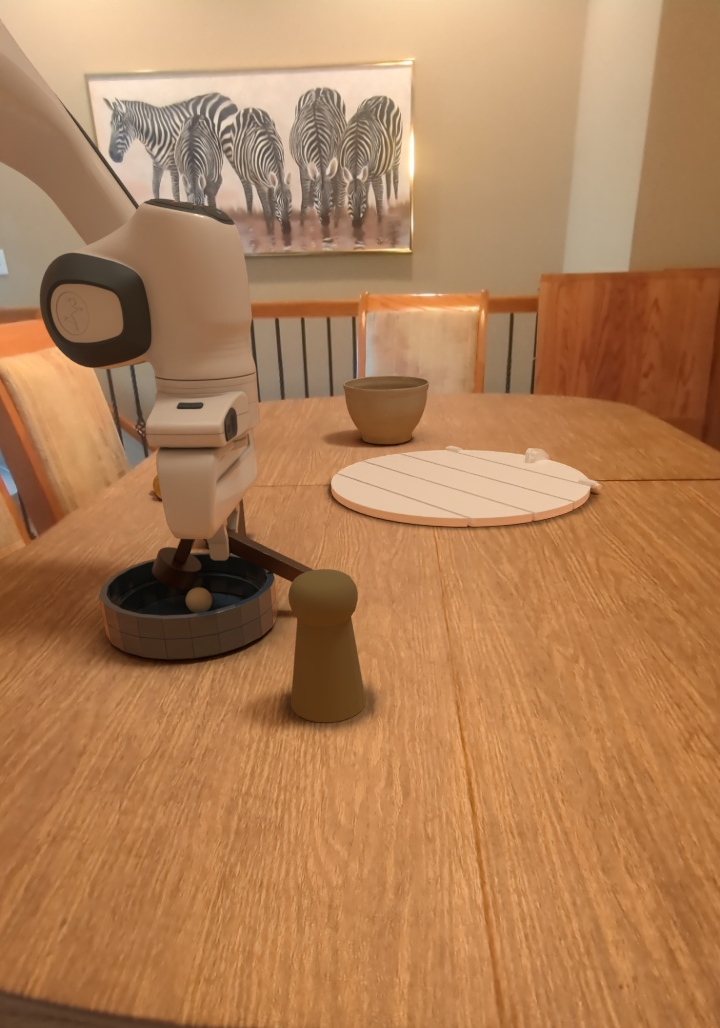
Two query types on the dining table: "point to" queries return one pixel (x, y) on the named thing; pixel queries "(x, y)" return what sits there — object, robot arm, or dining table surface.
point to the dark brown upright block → (239, 522)
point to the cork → (325, 647)
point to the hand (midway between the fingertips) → (225, 552)
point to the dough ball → (198, 600)
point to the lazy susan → (462, 487)
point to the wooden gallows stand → (184, 568)
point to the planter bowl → (386, 406)
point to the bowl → (172, 626)
